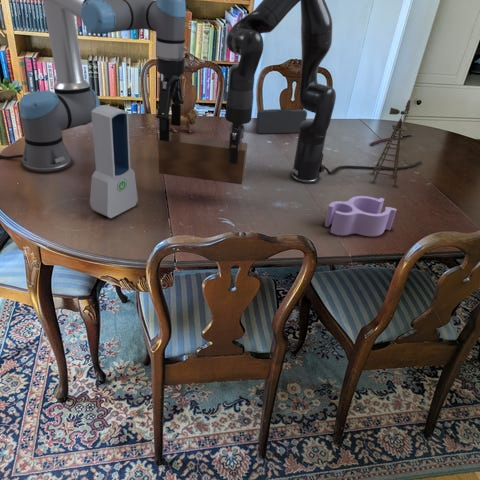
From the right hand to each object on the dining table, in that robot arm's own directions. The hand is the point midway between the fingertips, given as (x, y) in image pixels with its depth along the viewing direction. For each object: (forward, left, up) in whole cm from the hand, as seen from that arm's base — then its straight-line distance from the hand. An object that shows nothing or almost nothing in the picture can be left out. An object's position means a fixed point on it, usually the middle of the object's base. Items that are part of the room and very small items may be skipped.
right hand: (234, 158), depth 141 cm
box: (+7, -7, -7) cm, 12 cm away
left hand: (+13, -15, +5) cm, 21 cm away
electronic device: (+33, -15, -15) cm, 39 cm away
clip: (-23, +33, -15) cm, 43 cm away
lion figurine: (-23, -59, -15) cm, 65 cm away
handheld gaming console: (-60, -38, -15) cm, 73 cm away
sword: (-101, -6, -15) cm, 103 cm away
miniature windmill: (-60, +17, -15) cm, 64 cm away
